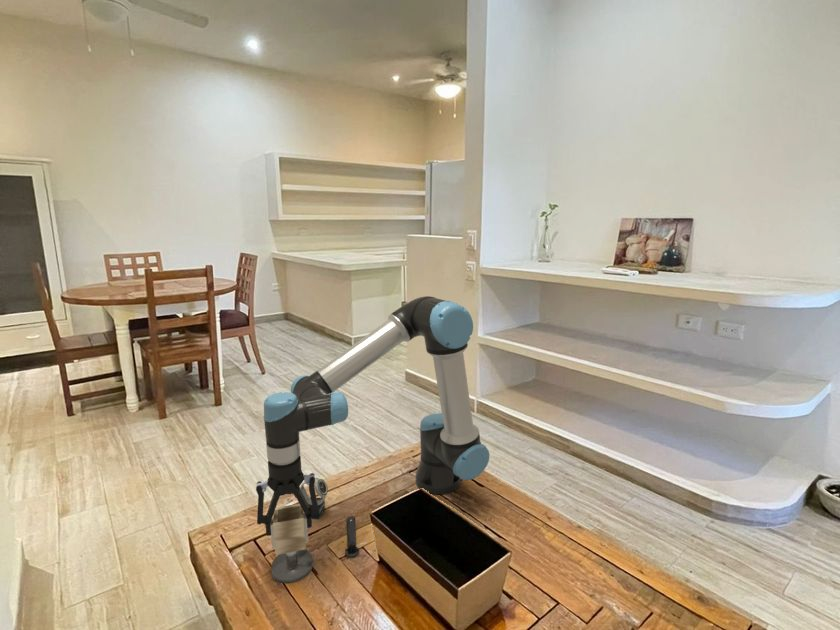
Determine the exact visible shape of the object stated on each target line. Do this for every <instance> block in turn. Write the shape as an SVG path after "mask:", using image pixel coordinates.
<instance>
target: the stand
mask: <svg viewBox="0 0 840 630" xmlns="http://www.w3.org/2000/svg"><path fill="white" fill-rule="evenodd" d="M345 522H346V523H345V524H346V525H345V526H346V527H345V528H346V542H347V543H346V544H347V545H346V546H347V547H346V548H345V551H344V552H345V556H346V557H347V558H350V559H353V558H356V557H358V556H359V554H360V548H359V547H358V544H357V527H356V526H357V525H356V516H354V515H349V516H347V517H346V518H345Z"/></svg>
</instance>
